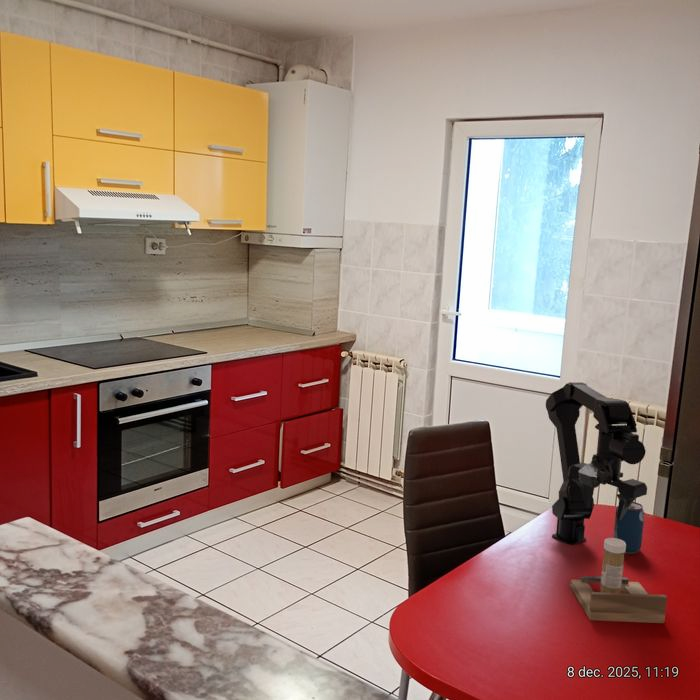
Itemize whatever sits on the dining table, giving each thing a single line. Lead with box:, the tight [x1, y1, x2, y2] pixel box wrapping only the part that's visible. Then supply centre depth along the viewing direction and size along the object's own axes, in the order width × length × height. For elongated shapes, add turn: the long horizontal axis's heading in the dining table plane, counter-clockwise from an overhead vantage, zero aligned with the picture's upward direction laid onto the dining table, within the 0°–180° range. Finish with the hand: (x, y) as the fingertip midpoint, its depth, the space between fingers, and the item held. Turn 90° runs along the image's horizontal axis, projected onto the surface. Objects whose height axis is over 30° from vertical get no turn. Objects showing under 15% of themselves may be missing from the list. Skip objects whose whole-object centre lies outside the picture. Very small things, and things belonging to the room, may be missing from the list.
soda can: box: [612, 501, 646, 555], centre depth 195 cm, size 7×7×12 cm
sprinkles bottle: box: [599, 537, 626, 593], centre depth 168 cm, size 5×5×13 cm
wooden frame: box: [569, 575, 668, 624], centre depth 165 cm, size 15×16×6 cm
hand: (603, 513), depth 184 cm, fingers open, 9 cm apart
